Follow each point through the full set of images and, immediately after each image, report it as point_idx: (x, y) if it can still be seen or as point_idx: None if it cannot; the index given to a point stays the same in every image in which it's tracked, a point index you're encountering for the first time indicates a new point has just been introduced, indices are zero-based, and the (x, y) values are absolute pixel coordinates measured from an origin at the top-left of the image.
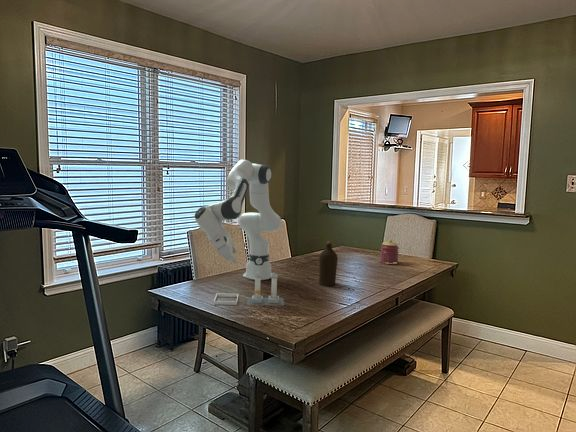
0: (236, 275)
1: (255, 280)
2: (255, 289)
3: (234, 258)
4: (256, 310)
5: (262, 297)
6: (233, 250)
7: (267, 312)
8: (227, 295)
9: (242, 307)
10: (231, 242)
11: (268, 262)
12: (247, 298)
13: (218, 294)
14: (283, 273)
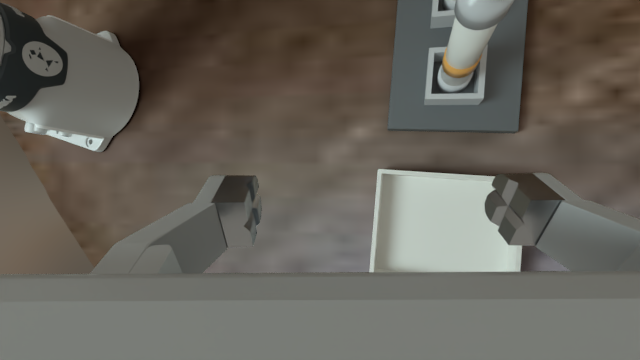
0: (84, 175)
1: (484, 37)
2: (473, 64)
3: (607, 209)
4: (582, 82)
5: (393, 58)
6: (247, 218)
7: (621, 25)
8: (378, 222)
9: (526, 152)
10: (147, 328)
11: (41, 21)
12: (409, 128)
13: (374, 266)
14: (68, 4)
